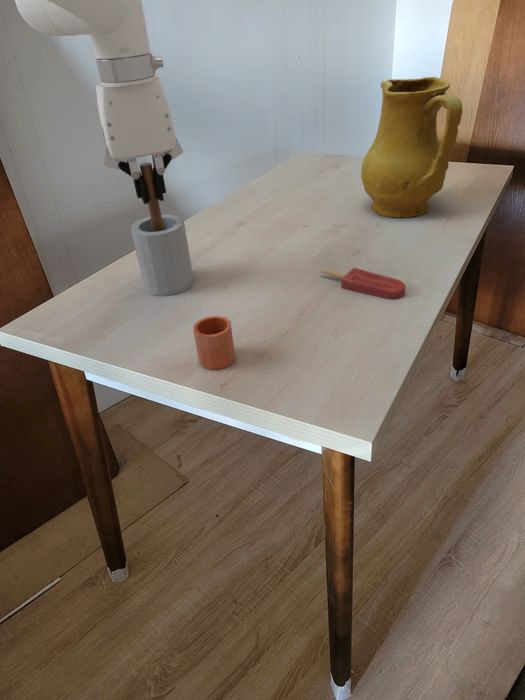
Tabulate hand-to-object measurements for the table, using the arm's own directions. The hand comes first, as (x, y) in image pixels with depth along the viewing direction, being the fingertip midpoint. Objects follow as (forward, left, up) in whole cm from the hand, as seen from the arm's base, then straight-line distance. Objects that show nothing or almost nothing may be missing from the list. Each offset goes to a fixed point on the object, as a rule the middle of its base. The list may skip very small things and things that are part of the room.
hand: (152, 199), depth 83 cm
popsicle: (+32, +9, -15) cm, 37 cm away
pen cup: (+19, -17, -15) cm, 30 cm away
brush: (0, 0, -15) cm, 15 cm away
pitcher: (+31, +44, -15) cm, 56 cm away
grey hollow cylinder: (0, 0, -15) cm, 15 cm away
